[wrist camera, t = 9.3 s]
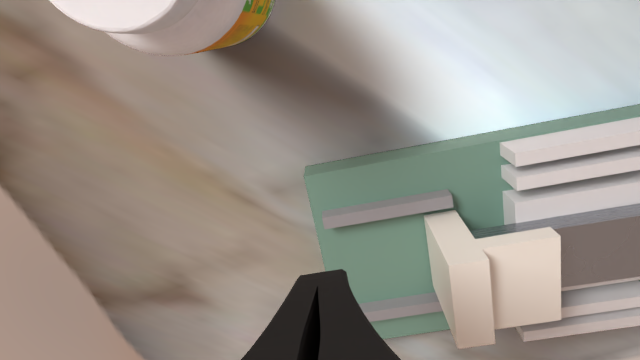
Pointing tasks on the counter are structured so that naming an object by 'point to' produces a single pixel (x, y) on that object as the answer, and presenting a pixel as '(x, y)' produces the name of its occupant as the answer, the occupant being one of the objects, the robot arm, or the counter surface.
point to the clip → (492, 278)
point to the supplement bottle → (171, 22)
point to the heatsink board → (475, 213)
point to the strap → (589, 243)
